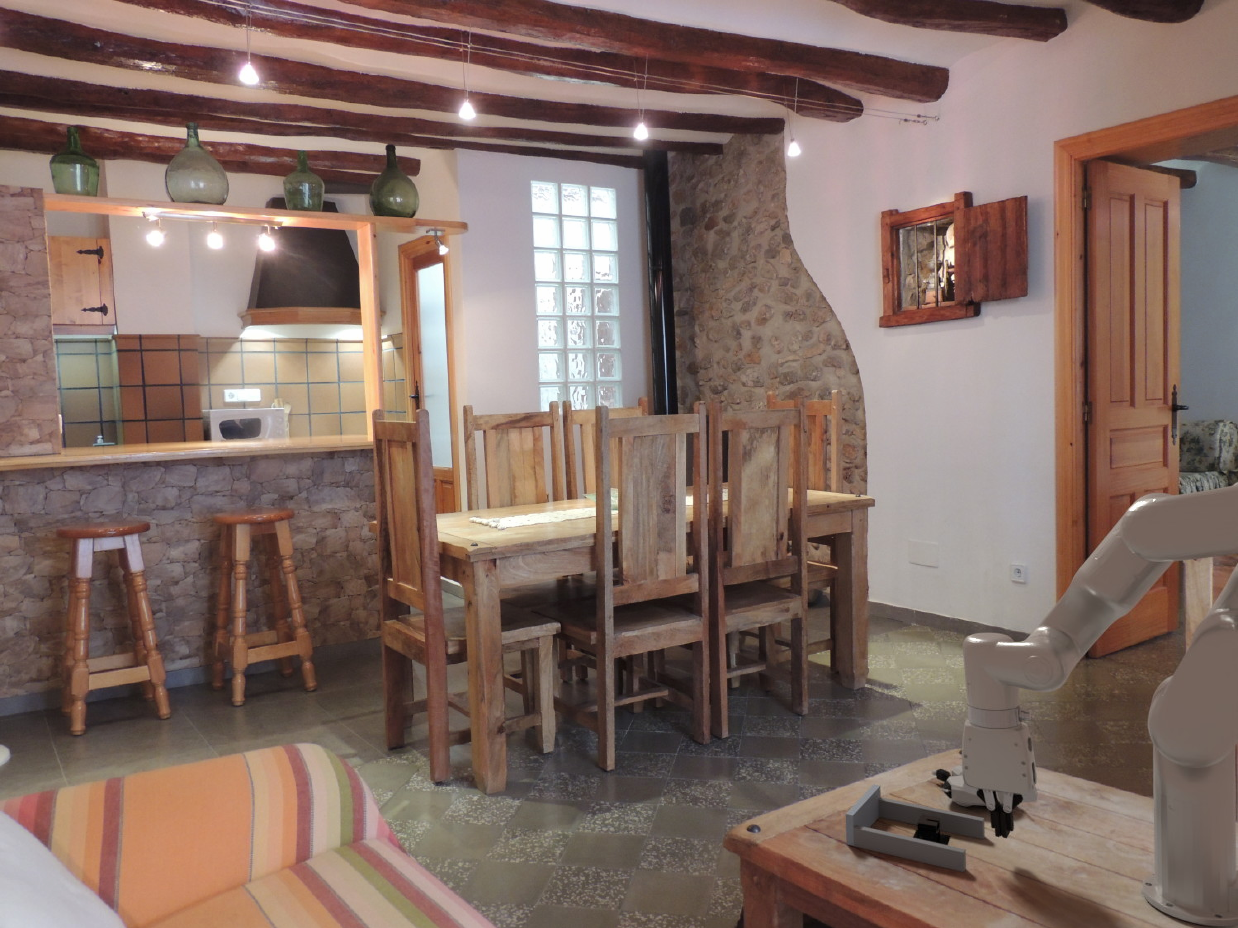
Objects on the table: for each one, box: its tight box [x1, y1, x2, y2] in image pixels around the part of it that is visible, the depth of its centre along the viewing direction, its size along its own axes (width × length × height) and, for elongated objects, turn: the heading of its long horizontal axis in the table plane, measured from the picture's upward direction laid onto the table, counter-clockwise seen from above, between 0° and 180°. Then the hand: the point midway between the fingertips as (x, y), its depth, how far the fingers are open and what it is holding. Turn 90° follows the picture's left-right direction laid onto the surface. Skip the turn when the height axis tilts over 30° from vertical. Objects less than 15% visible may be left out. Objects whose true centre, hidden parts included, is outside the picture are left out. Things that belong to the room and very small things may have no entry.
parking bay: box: [845, 784, 986, 873], centre depth 145 cm, size 18×14×5 cm
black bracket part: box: [912, 814, 951, 846], centre depth 144 cm, size 12×7×5 cm, turn 152°
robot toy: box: [931, 764, 1004, 808], centre depth 161 cm, size 12×4×15 cm
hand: (1003, 833), depth 138 cm, fingers closed
